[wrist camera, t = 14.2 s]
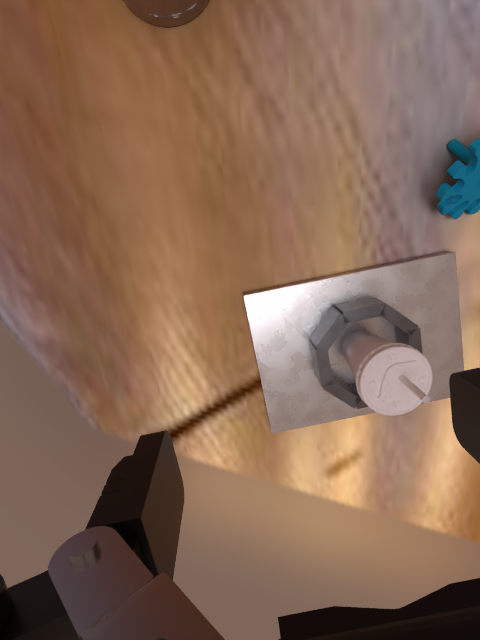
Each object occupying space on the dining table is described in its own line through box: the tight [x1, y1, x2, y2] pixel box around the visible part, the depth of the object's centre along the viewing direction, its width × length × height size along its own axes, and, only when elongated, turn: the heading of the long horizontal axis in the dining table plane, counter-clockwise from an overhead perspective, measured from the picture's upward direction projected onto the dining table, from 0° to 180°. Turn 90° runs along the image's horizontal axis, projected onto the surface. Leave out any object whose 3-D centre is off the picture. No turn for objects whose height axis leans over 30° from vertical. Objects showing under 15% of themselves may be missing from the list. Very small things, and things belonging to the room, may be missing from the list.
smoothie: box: [342, 330, 433, 416], centre depth 38 cm, size 6×6×14 cm
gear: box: [436, 138, 480, 219], centre depth 40 cm, size 11×6×10 cm
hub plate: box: [243, 251, 464, 433], centre depth 44 cm, size 16×22×5 cm
